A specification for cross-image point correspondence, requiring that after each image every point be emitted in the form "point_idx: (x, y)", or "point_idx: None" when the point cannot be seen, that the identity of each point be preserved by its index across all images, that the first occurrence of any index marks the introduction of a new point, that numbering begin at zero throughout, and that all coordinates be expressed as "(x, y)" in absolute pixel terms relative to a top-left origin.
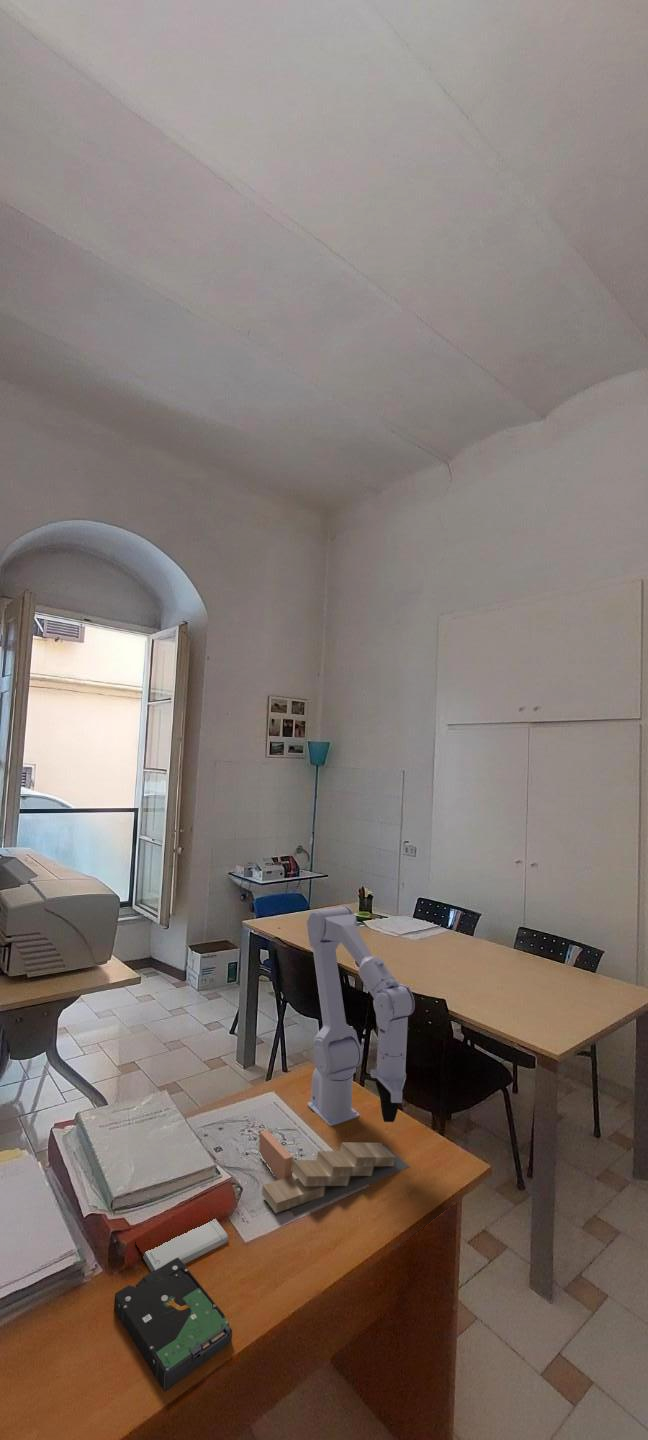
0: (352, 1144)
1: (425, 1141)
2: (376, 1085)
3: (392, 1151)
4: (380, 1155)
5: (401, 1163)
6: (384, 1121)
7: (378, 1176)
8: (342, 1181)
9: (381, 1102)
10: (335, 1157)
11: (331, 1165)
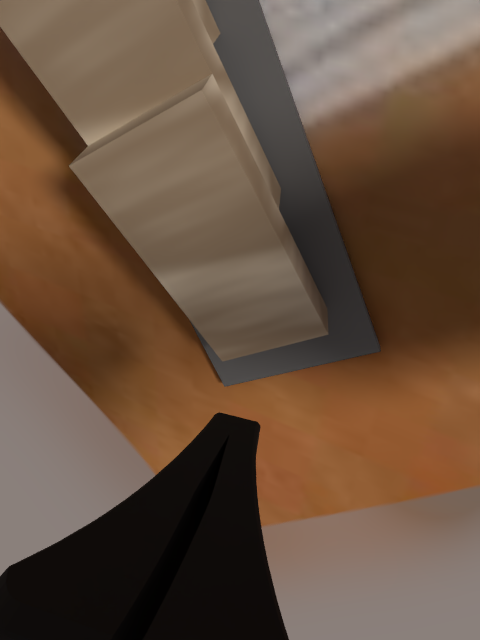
0: (216, 170)
1: (367, 488)
2: (96, 638)
3: (317, 364)
4: (190, 301)
5: (241, 367)
6: (215, 415)
7: None
8: None
9: (153, 499)
10: (104, 18)
11: None
